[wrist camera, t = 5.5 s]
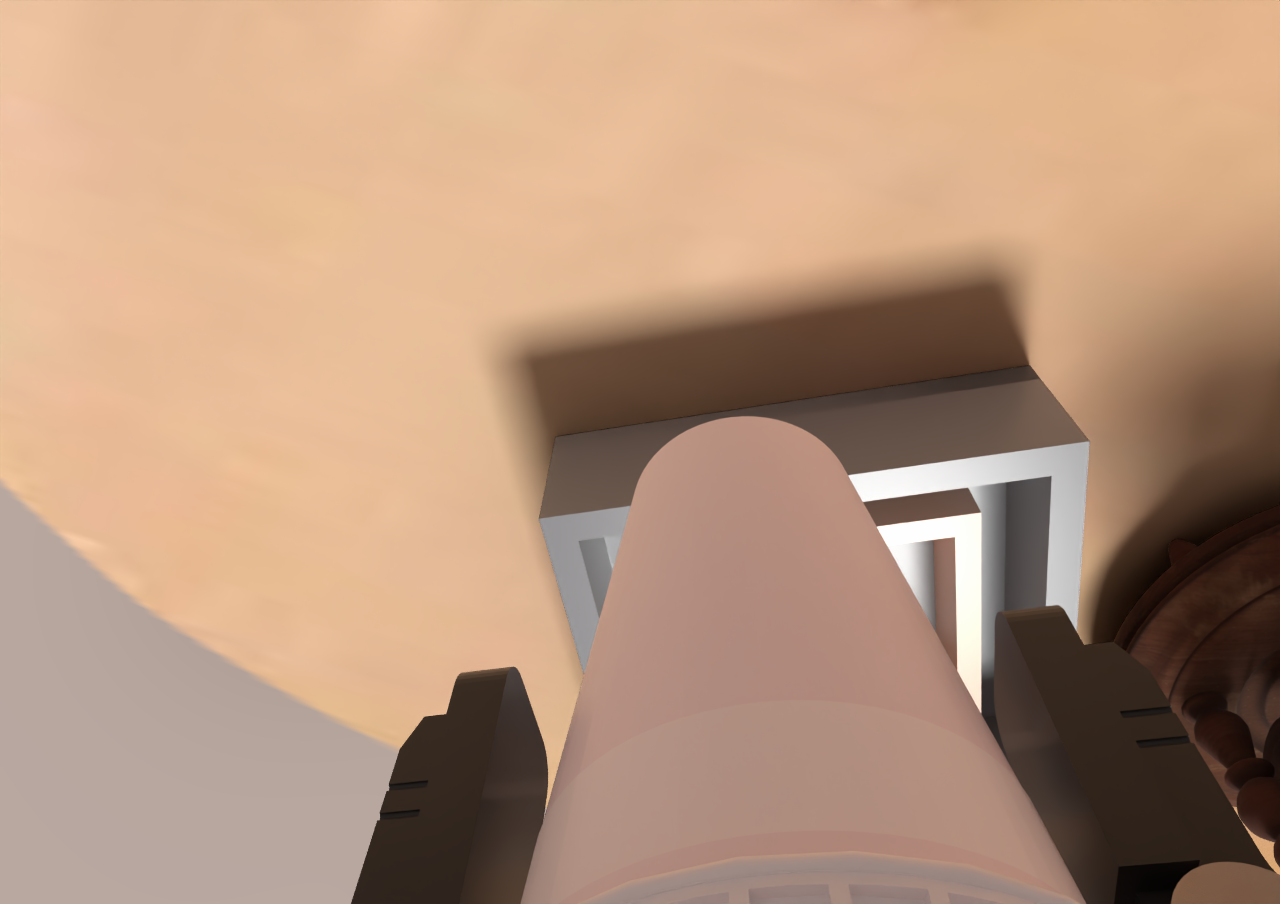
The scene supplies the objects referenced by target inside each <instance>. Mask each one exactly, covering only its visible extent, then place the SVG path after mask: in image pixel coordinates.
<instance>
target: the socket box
mask: <svg viewBox="0 0 1280 904" xmlns="http://www.w3.org/2000/svg"><path fill="white" fill-rule="evenodd" d="M740 416H755V417H765V418H770V419H776V420H780V421H783V422H787V423H789V424H792V425H795V426H797V427H799V428H801V429H803V430H805V431H807V432H809V433H810V434H812V435H814V436H815V437H817V438H818V439H819V440H820V441H822V442H823V443H824V444H825V445H826V446H827V447H828V448H829V449H830V450H831V451H832V452H833V453H834V454H835V455H836V457H837V458H838V459H839V461H840V462H841V464H842V466H843V467H844V469H845V471H846V473H847V474H848V476H849V478H850V480H851V482H852V483H853V485H854V487H855V489H856V491H857V492H858V494H859V496H860V498H861V500H862V501H863V503H864V505H865V507H866V509H867V510H868V512H869V514H870V516H871V517H872V519H873V521H874V523H875V525H876V526H877V528H878V530H879V532H880V534H881V535H882V537H883V539H884V541H885V543H886V544H887V546H888V548H889V550H890V551H891V553H892V555H893V557H894V559H895V560H896V562H897V564H898V566H899V568H900V569H901V571H902V573H903V575H904V577H905V578H906V580H907V582H908V584H909V585H910V587H911V589H912V591H913V593H914V594H915V596H916V598H917V600H918V602H919V603H920V605H921V607H922V609H923V611H924V612H925V614H926V616H927V618H928V620H929V621H930V623H931V625H932V627H933V628H934V630H935V632H936V634H937V636H938V637H939V639H940V641H941V643H942V645H943V646H944V648H945V650H946V652H947V654H948V655H949V657H950V659H951V661H952V662H953V664H954V666H955V668H956V670H957V671H958V673H959V675H960V677H961V679H962V680H963V682H964V684H965V686H966V688H967V689H968V691H969V693H970V695H971V696H972V698H973V700H974V702H975V704H976V705H977V707H978V709H979V711H980V713H981V714H982V716H983V718H984V720H985V722H986V723H987V725H988V727H989V729H990V730H991V732H992V734H993V736H994V738H995V739H996V741H997V743H998V745H999V747H1000V748H1001V750H1002V752H1003V754H1004V756H1005V757H1006V759H1007V761H1008V763H1009V765H1010V762H1009V759H1008V757H1007V754H1006V751H1005V749H1004V746H1003V743H1002V740H1001V736H1000V732H999V728H998V724H997V719H996V713H995V705H994V653H995V618H996V614H997V613H998V612H1001V611H1010V610H1019V609H1027V608H1036V607H1044V606H1053V605H1059V606H1061V607H1062V608H1063V609H1064V610H1065V612H1066V613H1067V615H1068V617H1069V619H1070V620H1071V622H1072V624H1073V626H1074V628H1075V630H1076V632H1077V621H1078V606H1079V591H1080V577H1081V562H1082V547H1083V532H1084V517H1085V503H1086V488H1087V473H1088V458H1089V444H1090V441H1089V440H1088V439H1087V437H1086V436H1085V435H1084V433H1083V432H1082V431H1081V430H1080V428H1079V427H1078V426H1077V425H1076V423H1075V422H1074V421H1073V419H1072V418H1071V417H1070V416H1069V414H1068V413H1067V412H1066V411H1065V409H1064V408H1063V407H1062V406H1061V404H1060V403H1059V402H1058V400H1057V399H1056V398H1055V397H1054V395H1053V394H1052V393H1051V392H1050V390H1049V389H1048V388H1047V386H1046V385H1045V384H1044V383H1043V381H1042V380H1041V379H1040V378H1039V376H1038V375H1037V374H1036V372H1035V371H1034V370H1033V369H1032V367H1031V366H1030V365H1029V366H1023V367H1016V368H1009V369H1003V370H996V371H990V372H983V373H976V374H970V375H963V376H956V377H950V378H943V379H936V380H930V381H923V382H916V383H910V384H903V385H897V386H890V387H883V388H877V389H870V390H863V391H857V392H850V393H843V394H837V395H830V396H823V397H817V398H810V399H804V400H797V401H790V402H784V403H777V404H770V405H764V406H757V407H750V408H744V409H737V410H730V411H724V412H717V413H711V414H704V415H697V416H691V417H684V418H677V419H671V420H664V421H657V422H651V423H644V424H638V425H631V426H624V427H618V428H611V429H604V430H598V431H591V432H584V433H578V434H571V435H564V436H558V437H555V442H554V447H553V452H552V457H551V462H550V467H549V472H548V477H547V482H546V486H545V491H544V496H543V501H542V506H541V511H540V516H539V521H540V524H541V528H542V531H543V535H544V538H545V542H546V545H547V549H548V552H549V556H550V559H551V562H552V566H553V569H554V573H555V576H556V580H557V583H558V587H559V590H560V594H561V597H562V601H563V604H564V607H565V611H566V614H567V618H568V621H569V625H570V628H571V632H572V635H573V639H574V642H575V646H576V649H577V652H578V656H579V659H580V663H581V666H582V670H583V673H585V669H586V666H587V662H588V659H589V655H590V651H591V648H592V644H593V641H594V637H595V633H596V630H597V626H598V623H599V619H600V615H601V612H602V608H603V604H604V601H605V597H606V594H607V590H608V586H609V583H610V579H611V576H612V572H613V568H614V565H615V561H616V558H617V554H618V550H619V547H620V543H621V540H622V536H623V532H624V529H625V525H626V522H627V518H628V514H629V511H630V507H631V503H632V500H633V496H634V493H635V489H636V486H637V483H638V481H639V478H640V476H641V474H642V472H643V470H644V469H645V467H646V466H647V464H648V463H649V461H650V460H651V459H652V458H653V456H654V455H655V454H656V453H657V452H658V451H659V450H660V449H661V448H662V447H663V446H665V445H666V444H667V443H668V442H669V441H671V440H672V439H674V438H675V437H677V436H678V435H680V434H682V433H683V432H685V431H687V430H689V429H691V428H693V427H696V426H698V425H701V424H704V423H707V422H710V421H714V420H718V419H723V418H729V417H740ZM1010 766H1011V765H1010ZM1011 768H1012V767H1011Z"/></svg>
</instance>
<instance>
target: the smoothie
mask: <svg viewBox="0 0 1280 904" xmlns="http://www.w3.org/2000/svg"><path fill="white" fill-rule="evenodd" d="M521 904H1086V902H1085V900H1084V898H1083V896H1082V894H1081V893H1080V891H1079V889H1078V887H1077V885H1076V883H1075V881H1074V879H1073V878H1072V876H1071V874H1070V872H1069V870H1068V868H1067V866H1066V865H1065V863H1064V861H1063V859H1062V857H1061V855H1060V853H1059V851H1058V850H1057V848H1056V846H1055V844H1054V842H1053V840H1052V838H1051V837H1050V835H1049V833H1048V831H1047V829H1046V827H1045V825H1044V823H1043V822H1042V820H1041V818H1040V816H1039V814H1038V812H1037V810H1036V809H1035V807H1034V805H1033V803H1032V801H1031V799H1030V798H1029V796H1028V795H1027V793H1026V792H1025V790H1024V789H1023V787H1022V786H1021V784H1020V782H1019V781H1018V779H1017V777H1016V775H1015V773H1014V772H1013V770H1012V768H1011V766H1010V765H1009V763H1008V761H1007V759H1006V757H1005V756H1004V754H1003V752H1002V750H1001V748H1000V747H999V745H998V743H997V741H996V739H995V738H994V736H993V734H992V732H991V730H990V729H989V727H988V725H987V723H986V722H985V720H984V718H983V716H982V714H981V713H980V711H979V709H978V707H977V705H976V704H975V702H974V700H973V698H972V696H971V695H970V693H969V691H968V689H967V688H966V686H965V684H964V682H963V680H962V679H961V677H960V675H959V673H958V671H957V670H956V668H955V666H954V664H953V662H952V661H951V659H950V657H949V655H948V654H947V652H946V650H945V648H944V646H943V645H942V643H941V641H940V639H939V637H938V636H937V634H936V632H935V630H934V628H933V627H932V625H931V623H930V621H929V620H928V618H927V616H926V614H925V612H924V611H923V609H922V607H921V605H920V603H919V602H918V600H917V598H916V596H915V594H914V593H913V591H912V589H911V587H910V585H909V584H908V582H907V580H906V578H905V577H904V575H903V573H902V571H901V569H900V568H899V566H898V564H897V562H896V560H895V559H894V557H893V555H892V553H891V551H890V550H889V548H888V546H887V544H886V543H885V541H884V539H883V537H882V535H881V534H880V532H879V530H878V528H877V526H876V525H875V523H874V521H873V519H872V517H871V516H870V514H869V512H868V510H867V509H866V507H865V505H864V503H863V501H862V500H861V498H860V496H859V494H858V492H857V491H856V489H855V487H854V485H853V483H852V482H851V480H850V478H849V476H848V474H847V473H846V471H845V469H844V467H843V466H842V464H841V462H840V461H839V459H838V458H837V457H836V455H835V454H834V453H833V452H832V451H831V450H830V449H829V448H828V447H827V446H826V445H825V444H824V443H823V442H822V441H820V440H819V439H818V438H817V437H815V436H814V435H812V434H810V433H809V432H807V431H805V430H803V429H801V428H799V427H797V426H795V425H792V424H789V423H787V422H783V421H780V420H776V419H770V418H765V417H755V416H740V417H729V418H723V419H718V420H714V421H710V422H707V423H704V424H701V425H698V426H696V427H693V428H691V429H689V430H687V431H685V432H683V433H682V434H680V435H678V436H677V437H675V438H674V439H672V440H671V441H669V442H668V443H667V444H666V445H665V446H663V447H662V448H661V449H660V450H659V451H658V452H657V453H656V454H655V455H654V456H653V458H652V459H651V460H650V461H649V463H648V464H647V466H646V467H645V469H644V470H643V472H642V474H641V476H640V478H639V481H638V483H637V486H636V489H635V493H634V496H633V500H632V503H631V507H630V511H629V514H628V518H627V522H626V525H625V529H624V532H623V536H622V540H621V543H620V547H619V550H618V554H617V558H616V561H615V565H614V568H613V572H612V576H611V579H610V583H609V586H608V590H607V594H606V597H605V601H604V604H603V608H602V612H601V615H600V619H599V623H598V626H597V630H596V633H595V637H594V641H593V644H592V648H591V651H590V655H589V659H588V662H587V666H586V669H585V673H584V677H583V680H582V684H581V687H580V691H579V695H578V698H577V702H576V706H575V709H574V713H573V716H572V720H571V724H570V727H569V731H568V734H567V738H566V742H565V745H564V749H563V752H562V756H561V760H560V763H559V767H558V770H557V774H556V778H555V781H554V785H553V788H552V792H551V796H550V799H549V803H548V807H547V810H546V814H545V817H544V821H543V824H542V827H541V829H540V832H539V834H538V838H537V842H536V846H535V849H534V853H533V857H532V861H531V865H530V869H529V873H528V877H527V880H526V884H525V888H524V892H523V896H522V900H521Z"/></svg>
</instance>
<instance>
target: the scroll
mask: <svg viewBox="0 0 1280 904" xmlns="http://www.w3.org/2000/svg"><path fill="white" fill-rule="evenodd" d="M1168 548H1169V559H1170V562H1171V565H1172V566H1171V567H1170V568H1169V569H1168V570H1167V571H1165V572H1164V573H1163V574H1162V575H1161V576H1160V577H1159V578H1158V579H1157V580H1156V581H1155V582H1154V583H1153V584H1152V585H1151V586H1150V587H1149V588H1148V590H1147V591H1146V592H1145V593H1144V594H1143V595H1142V596H1141V598H1140V599H1139V600H1138V601H1137V603H1136V604H1135V605H1134V607H1133V608H1132V610H1131V611H1130V612H1129V614H1128V615H1127V617H1126V619H1125V620H1124V622H1123V624H1122V625H1121V627H1120V629H1119V631H1118V633H1117V635H1116V637H1115V640H1114V643H1116V644H1117V645H1118V646H1119V647H1121V648H1122V649H1123V650H1124V651H1126V652H1127V653H1128V654H1129V655H1131V656H1132V657H1133V658H1135V659H1136V660H1137V661H1138V662H1140V663H1141V664H1142V665H1143V666H1145V667H1146V668H1147V669H1149V670H1150V672H1151V673H1152V675H1153V677H1154V678H1155V680H1156V681H1157V683H1158V685H1159V686H1160V688H1161V690H1162V691H1163V693H1164V695H1165V696H1166V698H1167V700H1168V701H1169V703H1170V705H1171V708H1172V712H1173V713H1176V714H1177V716H1178V718H1179V719H1180V721H1181V723H1182V724H1183V726H1184V728H1185V729H1186V731H1187V733H1188V734H1189V739H1190V742H1191V743H1194V744H1195V746H1196V747H1197V749H1198V751H1199V752H1200V754H1201V756H1202V757H1203V759H1204V761H1205V762H1206V764H1207V765H1208V767H1209V769H1210V770H1211V772H1212V774H1213V775H1214V777H1215V779H1216V780H1217V782H1218V784H1219V785H1220V787H1221V789H1222V790H1223V792H1224V793H1225V795H1226V797H1227V798H1228V800H1229V802H1230V803H1231V805H1232V806H1233V807H1237V811H1238V815H1239V817H1240V819H1241V820H1242V822H1243V823H1244V824H1245V825H1246V826H1247V828H1248V829H1249V830H1250V831H1251V832H1253V833H1254V834H1255V835H1257V836H1258V837H1260V838H1263V839H1266V840H1269V841H1272V842H1275V844H1274V858H1275V861H1276V862H1277V864H1278V866H1279V867H1280V505H1279V506H1276V507H1274V508H1271V509H1268V510H1266V511H1263V512H1260V513H1258V514H1256V515H1254V516H1252V517H1249V518H1247V519H1245V520H1243V521H1241V522H1238V523H1237V524H1235V525H1233V526H1231V527H1229V528H1227V529H1225V530H1223V531H1222V532H1220V533H1218V534H1216V535H1215V536H1213V537H1211V538H1210V539H1208V540H1207V541H1205V542H1203V543H1202V544H1200V545H1199V546H1196V545H1194V544H1192V543H1189V542H1187V541H1184V540H1182V539H1176V540H1173V541H1172V542H1171V543H1170V544H1169V546H1168Z"/></svg>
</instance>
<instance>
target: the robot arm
mask: <svg viewBox="0 0 1280 904" xmlns="http://www.w3.org/2000/svg"><path fill="white" fill-rule="evenodd" d="M994 705H995V713H996V719H997V724H998V728H999V732H1000V736H1001V740H1002V743H1003V746H1004V749H1005V751H1006V754H1007V757H1008V759H1009V762H1010V765H1011V767H1012V770H1013V772H1014V773H1015V775H1016V777H1017V779H1018V781H1019V782H1020V784H1021V786H1022V787H1023V789H1024V790H1025V792H1026V793H1027V795H1028V796H1029V798H1030V799H1031V801H1032V803H1033V805H1034V807H1035V809H1036V810H1037V812H1038V814H1039V816H1040V818H1041V820H1042V822H1043V823H1044V825H1045V827H1046V829H1047V831H1048V833H1049V835H1050V837H1051V838H1052V840H1053V842H1054V844H1055V846H1056V848H1057V850H1058V851H1059V853H1060V855H1061V857H1062V859H1063V861H1064V863H1065V865H1066V866H1067V868H1068V870H1069V872H1070V874H1071V876H1072V878H1073V879H1074V881H1075V883H1076V885H1077V887H1078V889H1079V891H1080V893H1081V894H1082V896H1083V898H1084V900H1085V902H1086V904H1280V875H1279V874H1277V873H1276V872H1275V871H1274V870H1273V869H1272V868H1271V867H1270V865H1269V864H1268V863H1267V861H1266V860H1265V859H1264V857H1263V856H1262V854H1261V853H1260V851H1259V849H1258V848H1257V846H1256V845H1255V843H1254V841H1253V840H1252V838H1251V836H1250V835H1249V833H1248V831H1247V830H1246V828H1245V826H1244V825H1243V823H1242V821H1241V820H1240V818H1239V817H1238V815H1237V813H1236V812H1235V810H1234V808H1233V807H1232V805H1231V803H1230V802H1229V800H1228V798H1227V797H1226V795H1225V793H1224V792H1223V790H1222V789H1221V787H1220V785H1219V784H1218V782H1217V780H1216V779H1215V777H1214V775H1213V774H1212V772H1211V770H1210V769H1209V767H1208V765H1207V764H1206V762H1205V761H1204V759H1203V757H1202V756H1201V754H1200V752H1199V751H1198V749H1197V747H1196V746H1195V744H1194V743H1191V742H1190V739H1189V734H1188V733H1187V731H1186V729H1185V728H1184V726H1183V724H1182V723H1181V721H1180V719H1179V718H1178V716H1177V714H1176V713H1173V712H1172V708H1171V705H1170V703H1169V701H1168V700H1167V698H1166V696H1165V695H1164V693H1163V691H1162V690H1161V688H1160V686H1159V685H1158V683H1157V681H1156V680H1155V678H1154V677H1153V675H1152V673H1151V672H1150V670H1149V669H1147V668H1146V667H1145V666H1143V665H1142V664H1141V663H1140V662H1138V661H1137V660H1136V659H1135V658H1133V657H1132V656H1131V655H1129V654H1128V653H1127V652H1126V651H1124V650H1123V649H1122V648H1121V647H1119V646H1118V645H1117V644H1116V643H1114V642H1107V643H1098V644H1089V645H1083V643H1082V641H1081V639H1080V637H1079V635H1078V633H1077V632H1076V630H1075V628H1074V626H1073V624H1072V622H1071V620H1070V619H1069V617H1068V615H1067V613H1066V612H1065V610H1064V609H1063V608H1062V607H1061V606H1059V605H1053V606H1044V607H1036V608H1027V609H1019V610H1010V611H1001V612H998V613H997V614H996V618H995V653H994ZM389 787H390V788H389V791H387V792H386V795H385V798H384V801H383V804H382V807H381V811H380V820H379V821H377V823H376V826H375V830H374V833H373V836H372V839H371V842H370V845H369V849H368V852H367V855H366V858H365V861H364V864H363V868H362V871H361V874H360V877H359V880H358V883H357V886H356V890H355V893H354V896H353V899H352V902H351V904H521V900H522V896H523V892H524V888H525V884H526V880H527V877H528V873H529V869H530V865H531V861H532V857H533V853H534V849H535V846H536V842H537V838H538V834H539V832H540V829H541V827H542V824H543V819H544V812H545V805H546V798H547V790H548V766H547V756H546V751H545V746H544V742H543V739H542V736H541V733H540V730H539V727H538V725H537V722H536V719H535V716H534V713H533V710H532V707H531V704H530V701H529V698H528V695H527V692H526V689H525V686H524V684H523V681H522V678H521V675H520V673H519V671H518V670H517V668H515V667H507V668H499V669H490V670H482V671H473V672H464V673H461V674H459V676H458V677H457V679H456V682H455V685H454V688H453V692H452V696H451V699H450V703H449V707H448V710H447V714H444V715H435V716H426V717H424V718H423V719H422V721H421V722H420V723H419V725H418V726H417V727H416V729H415V730H414V731H413V733H412V734H411V735H410V736H409V738H408V739H407V740H406V742H405V743H404V744H403V746H402V747H401V748H400V750H399V754H398V757H397V760H396V763H395V767H394V769H393V773H392V776H391V779H390V782H389Z"/></svg>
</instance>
